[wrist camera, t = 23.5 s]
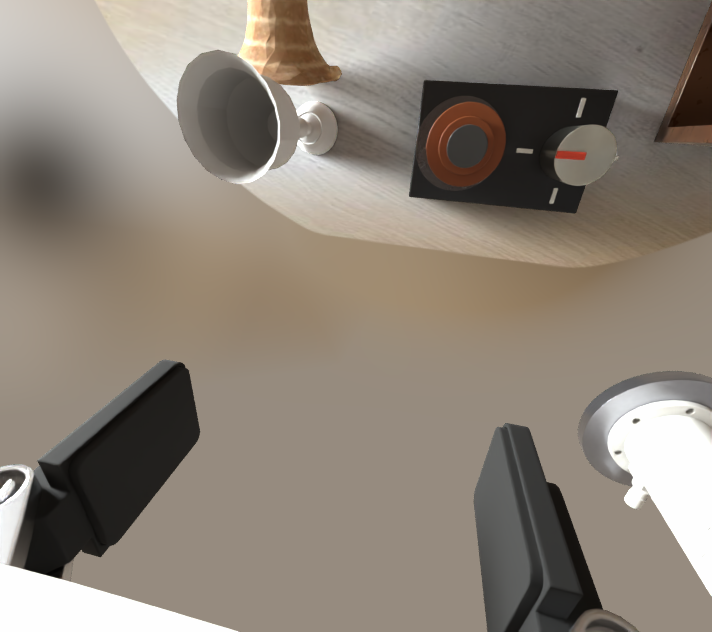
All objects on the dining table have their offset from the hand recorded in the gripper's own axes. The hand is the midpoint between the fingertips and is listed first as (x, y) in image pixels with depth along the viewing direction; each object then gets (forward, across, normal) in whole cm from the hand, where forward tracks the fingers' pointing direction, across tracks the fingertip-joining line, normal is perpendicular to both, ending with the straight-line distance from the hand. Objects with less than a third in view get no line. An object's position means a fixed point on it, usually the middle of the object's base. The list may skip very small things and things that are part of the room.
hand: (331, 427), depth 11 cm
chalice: (+34, +11, -8) cm, 36 cm away
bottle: (+30, -4, -8) cm, 31 cm away
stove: (+33, -8, -8) cm, 35 cm away
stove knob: (+30, -14, -7) cm, 34 cm away
